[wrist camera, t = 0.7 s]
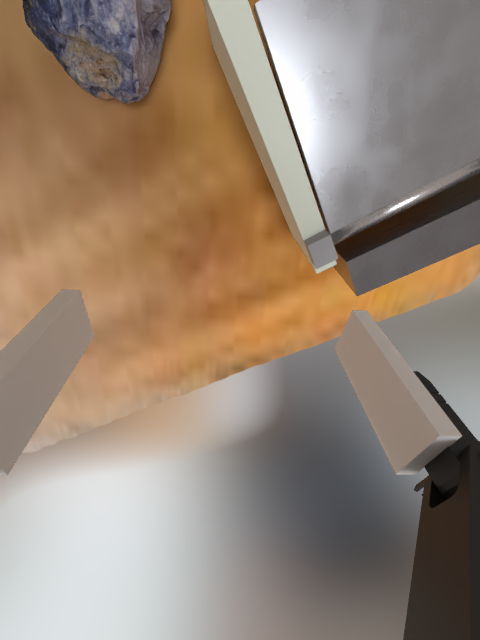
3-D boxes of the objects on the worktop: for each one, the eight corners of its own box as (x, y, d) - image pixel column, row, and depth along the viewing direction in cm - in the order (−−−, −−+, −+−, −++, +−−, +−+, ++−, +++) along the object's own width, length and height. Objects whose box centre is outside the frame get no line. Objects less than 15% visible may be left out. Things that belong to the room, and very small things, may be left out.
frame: (212, 45, 24) (197, -32, 13) (442, -139, 19) (756, -541, 8) (291, 233, 35) (321, 280, 23) (451, 148, 29) (589, 156, 18)
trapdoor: (248, 34, 19) (257, -9, 13) (482, -149, 15) (637, -322, 9) (331, 266, 30) (354, 297, 24) (476, 197, 26) (545, 215, 20)
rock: (5, -170, 16) (-5, -189, 12) (164, -43, 22) (199, -23, 18) (25, 50, 23) (24, 92, 19) (141, 101, 29) (162, 142, 25)
